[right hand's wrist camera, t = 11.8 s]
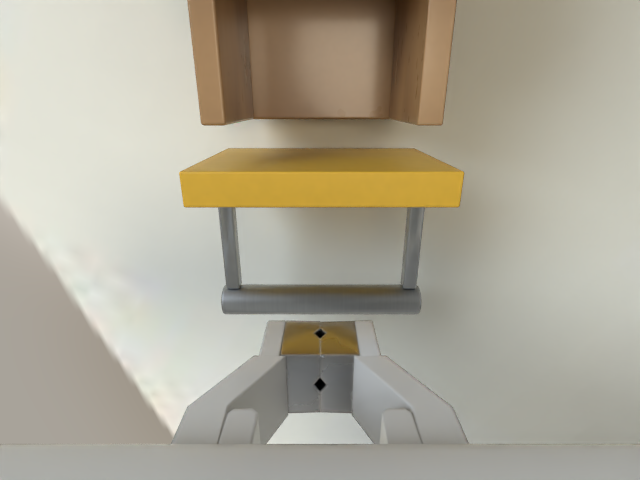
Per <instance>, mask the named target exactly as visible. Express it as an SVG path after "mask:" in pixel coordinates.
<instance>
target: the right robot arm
mask: <svg viewBox="0 0 640 480" xmlns="http://www.w3.org/2000/svg"><path fill="white" fill-rule="evenodd" d="M308 412H331V413H352V415H353V417H354V418H355V419H356V421H357V422H358V423H359V425H360V426H361V427H362V429H363V430H364V431H365V433H366V434H367V435H368V437H369V438H370V439H371V441H372V442H373V443H374V444H267V442H268V441H269V440H270V438H271V437H272V436H273V434H274V433H275V432H276V430H277V429H278V428H279V426H280V425H281V424H282V422H283V421H284V420H285V418H286V417H287V416H288V413H308ZM0 480H640V444H469V443H468V440H467V438H466V436H465V434H464V431H463V429H462V427H461V424H460V422H459V420H458V418H457V415H456V413H455V411H454V409H453V407H452V406H451V405H449V404H448V403H447V402H445V401H444V400H443V399H442V398H440V397H439V396H438V395H436V394H435V393H434V392H432V391H431V390H430V389H429V388H427V387H426V386H425V385H423V384H422V383H421V382H419V381H418V380H417V379H416V378H414V377H413V376H412V375H410V374H409V373H408V372H407V371H405V370H404V369H403V368H401V367H400V366H399V365H397V364H396V363H395V362H394V361H392V360H391V359H390V358H388V357H387V356H381V353H380V349H379V345H378V341H377V337H376V333H375V329H374V325H373V322H372V321H371V320H366V321H337V322H320V321H285V320H284V321H268V322H267V325H266V329H265V333H264V337H263V341H262V345H261V349H260V353H259V356H253V357H252V358H250V359H249V360H248V361H246V362H245V363H244V364H243V365H241V366H240V367H239V368H237V369H236V370H235V371H233V372H232V373H231V374H230V375H228V376H227V377H226V378H224V379H223V380H222V381H220V382H219V383H218V384H216V385H215V386H214V387H213V388H211V389H210V390H209V391H207V392H206V393H205V394H203V395H202V396H201V397H200V398H198V399H197V400H196V401H194V402H193V403H192V404H190V405H189V406H188V407H187V409H186V411H185V413H184V416H183V418H182V420H181V422H180V425H179V427H178V429H177V431H176V434H175V436H174V438H173V440H172V443H171V444H0Z"/></svg>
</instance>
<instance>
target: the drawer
mask: <svg viewBox="0 0 640 480" xmlns="http://www.w3.org/2000/svg"><path fill="white" fill-rule="evenodd" d="M187 1H188V10H189V19H190V28H191V37H192V46H193V55H194V64H195V73H196V82H197V91H198V100H199V109H200V118H201V123H202V125H228V124H232V123H237V122H241V121H246V120H250V119H392V120H396V121H401V122H406V123H410V124H415V125H442V124H443V116H444V108H445V99H446V90H447V82H448V73H449V64H450V55H451V47H452V38H453V29H454V20H455V12H456V3H457V0H187ZM179 175H180V182H181V189H182V196H183V204H184V207H218V210H219V220H220V229H221V239H222V249H223V258H224V268H225V277H226V285H225V286H224V288H223V292H222V299H221V303H222V310H223V313H224V314H418V313H419V312H420V309H421V293H420V290H419V287H418V286H417V285H416V284H417V274H418V265H419V256H420V246H421V237H422V227H423V218H424V208H425V207H459V206H460V199H461V192H462V185H463V178H464V172H463V171H461V170H459V169H457V168H454V167H452V166H450V165H448V164H446V163H444V162H442V161H440V160H438V159H435V158H433V157H431V156H429V155H427V154H425V153H423V152H421V151H419V150H416V149H414V148H228V149H226V150H224V151H222V152H220V153H218V154H216V155H214V156H212V157H210V158H208V159H205V160H203V161H201V162H199V163H197V164H195V165H193V166H191V167H189V168H187V169H185V170H183V171H181V172H180V173H179ZM235 207H407V219H406V230H405V241H404V253H403V264H402V275H401V284H402V285H241V283H242V280H241V268H240V256H239V245H238V233H237V222H236V210H235Z"/></svg>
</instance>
